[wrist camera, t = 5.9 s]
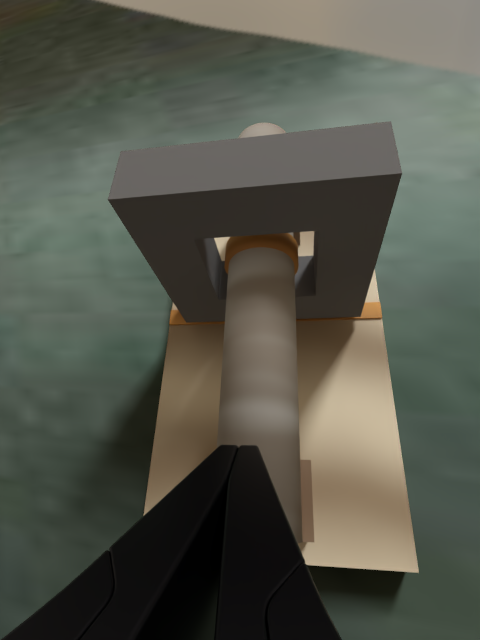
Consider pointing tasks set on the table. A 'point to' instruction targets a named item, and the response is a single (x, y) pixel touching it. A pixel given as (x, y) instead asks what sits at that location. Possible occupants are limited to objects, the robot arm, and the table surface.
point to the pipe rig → (291, 405)
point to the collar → (263, 211)
